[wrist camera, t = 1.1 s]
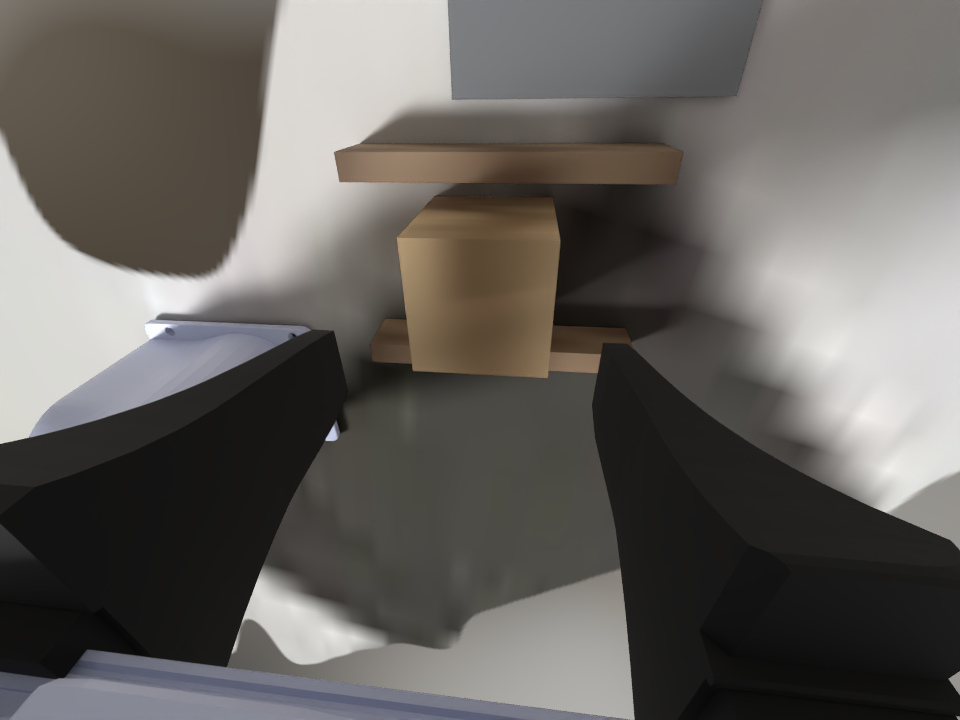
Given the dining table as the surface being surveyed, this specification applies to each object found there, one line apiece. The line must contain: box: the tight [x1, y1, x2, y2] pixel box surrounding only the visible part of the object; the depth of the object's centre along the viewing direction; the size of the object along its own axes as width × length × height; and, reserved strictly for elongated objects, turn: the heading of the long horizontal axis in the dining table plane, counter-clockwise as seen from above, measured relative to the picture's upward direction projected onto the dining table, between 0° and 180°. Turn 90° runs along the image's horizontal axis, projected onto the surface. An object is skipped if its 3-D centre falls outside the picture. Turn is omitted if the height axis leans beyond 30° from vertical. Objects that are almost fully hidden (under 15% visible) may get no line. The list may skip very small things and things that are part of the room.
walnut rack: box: [334, 143, 683, 373], centre depth 18 cm, size 12×9×2 cm
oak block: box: [397, 196, 561, 378], centre depth 16 cm, size 5×5×6 cm
